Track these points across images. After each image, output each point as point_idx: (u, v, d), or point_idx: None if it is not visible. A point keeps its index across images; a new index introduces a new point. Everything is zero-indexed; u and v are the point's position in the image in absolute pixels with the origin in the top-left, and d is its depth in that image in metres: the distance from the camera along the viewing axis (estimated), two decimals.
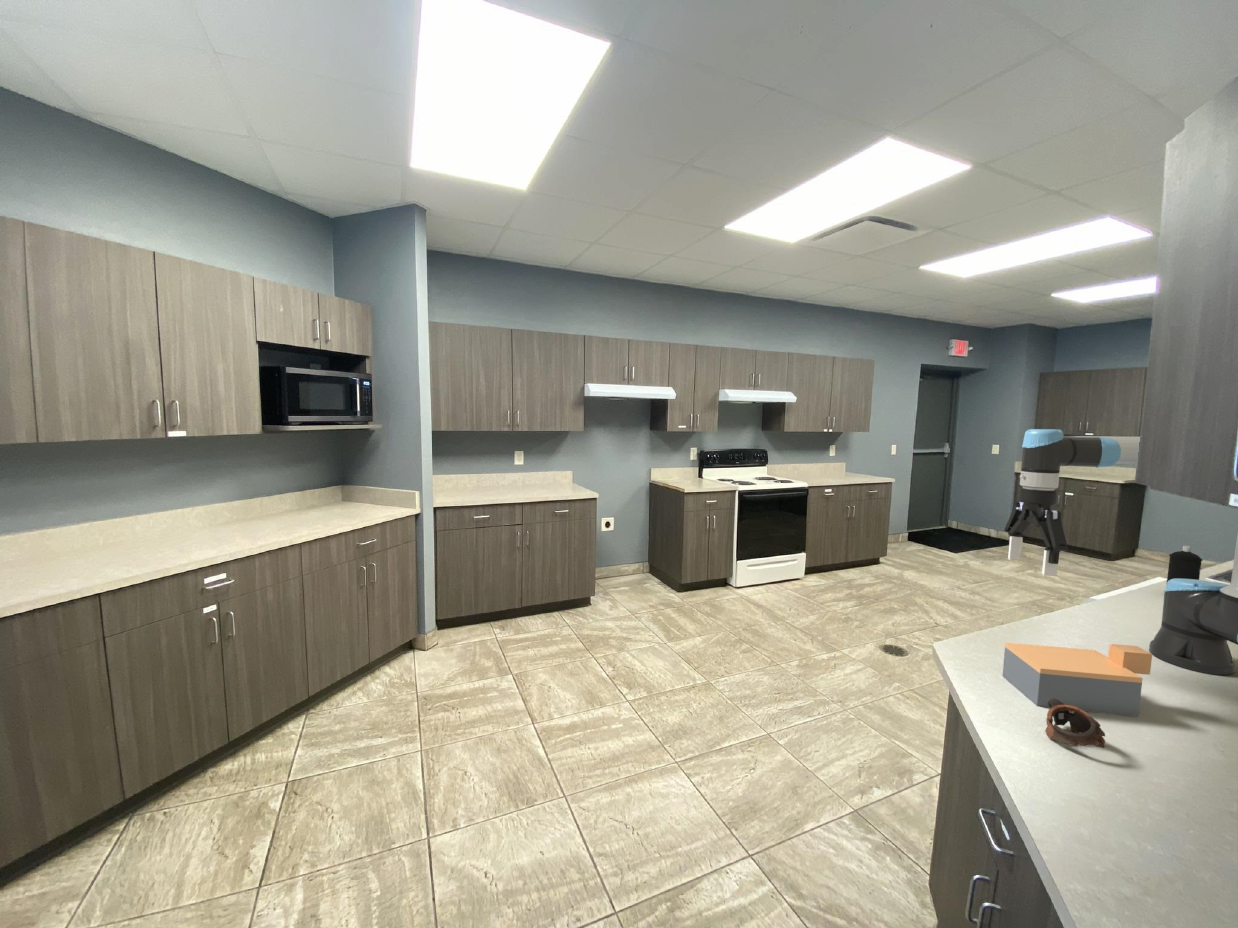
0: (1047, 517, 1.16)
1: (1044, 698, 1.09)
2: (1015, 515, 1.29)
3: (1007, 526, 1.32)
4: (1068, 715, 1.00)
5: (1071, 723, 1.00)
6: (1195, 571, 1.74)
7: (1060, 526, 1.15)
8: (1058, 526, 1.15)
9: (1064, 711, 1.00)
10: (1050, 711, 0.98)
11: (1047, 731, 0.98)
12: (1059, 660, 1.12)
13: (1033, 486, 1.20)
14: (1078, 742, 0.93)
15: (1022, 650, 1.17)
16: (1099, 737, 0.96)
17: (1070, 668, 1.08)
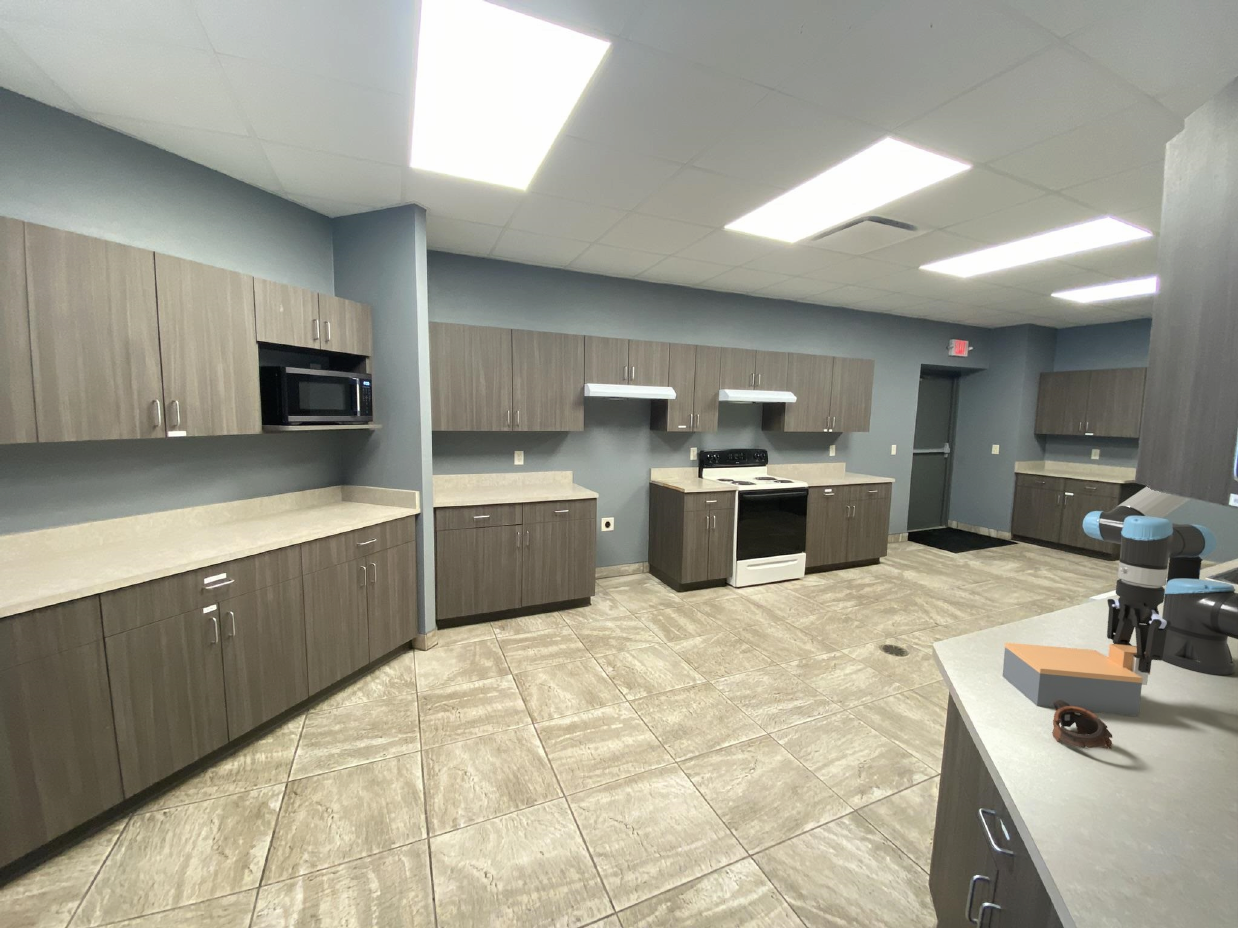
0: (1152, 625, 1.04)
1: (1044, 698, 1.09)
2: (1114, 615, 1.14)
3: (1109, 631, 1.15)
4: (1074, 716, 0.99)
5: (1077, 724, 1.00)
6: (1195, 571, 1.74)
7: (1163, 636, 1.04)
8: (1160, 636, 1.04)
9: (1070, 712, 0.99)
10: (1057, 713, 0.98)
11: (1054, 733, 0.97)
12: (1059, 660, 1.12)
13: (1137, 582, 1.07)
14: (1086, 744, 0.92)
15: (1022, 650, 1.17)
16: (1106, 738, 0.95)
17: (1070, 668, 1.08)
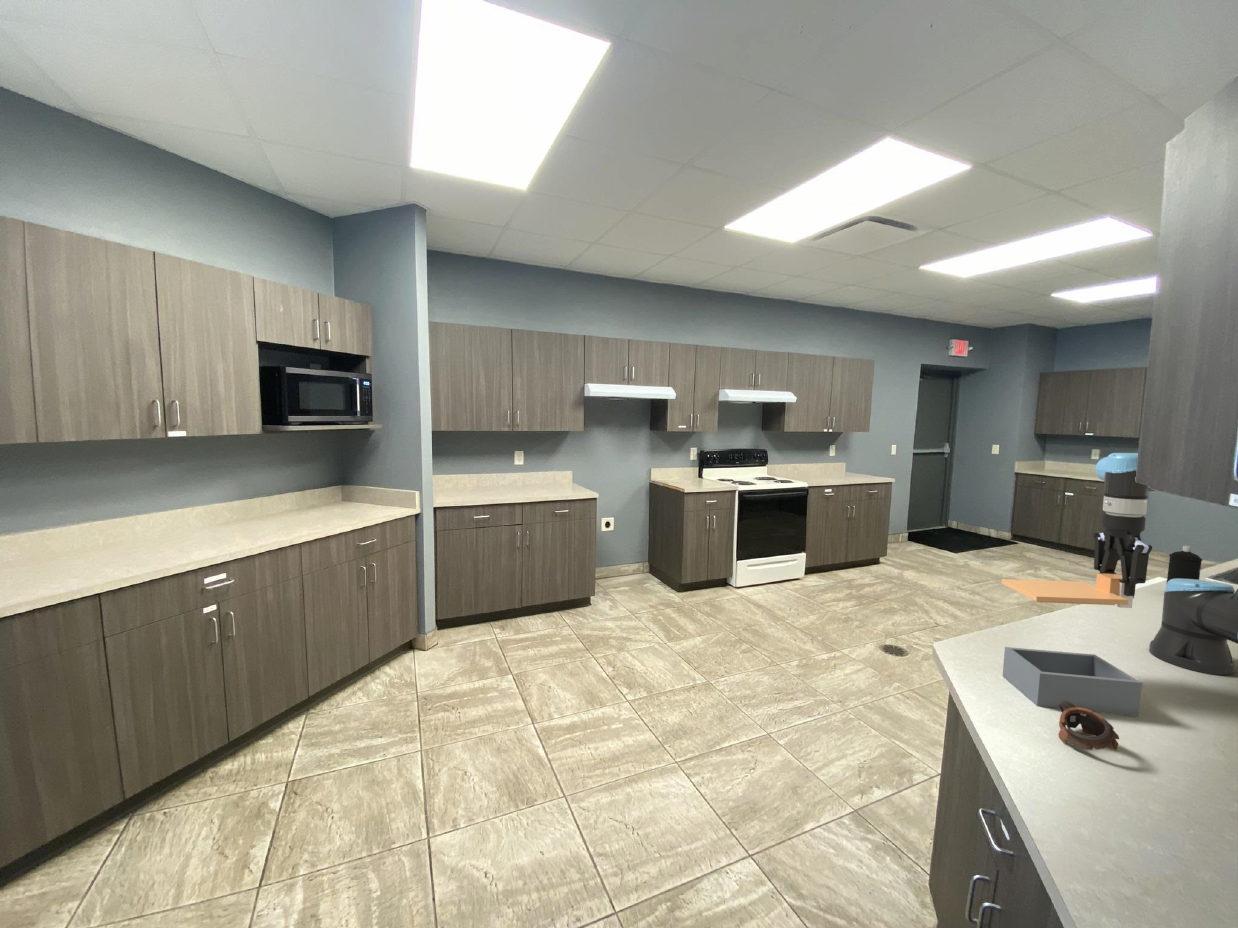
0: (1136, 551, 1.13)
1: (1044, 698, 1.09)
2: (1100, 547, 1.23)
3: (1095, 563, 1.24)
4: (1080, 717, 0.99)
5: (1083, 725, 0.99)
6: (1195, 571, 1.74)
7: (1146, 560, 1.13)
8: (1143, 560, 1.13)
9: (1076, 714, 0.99)
10: (1063, 714, 0.97)
11: (1060, 734, 0.97)
12: (1052, 590, 1.20)
13: (1121, 513, 1.15)
14: (1093, 745, 0.92)
15: (1018, 584, 1.25)
16: (1112, 740, 0.95)
17: (1063, 595, 1.17)
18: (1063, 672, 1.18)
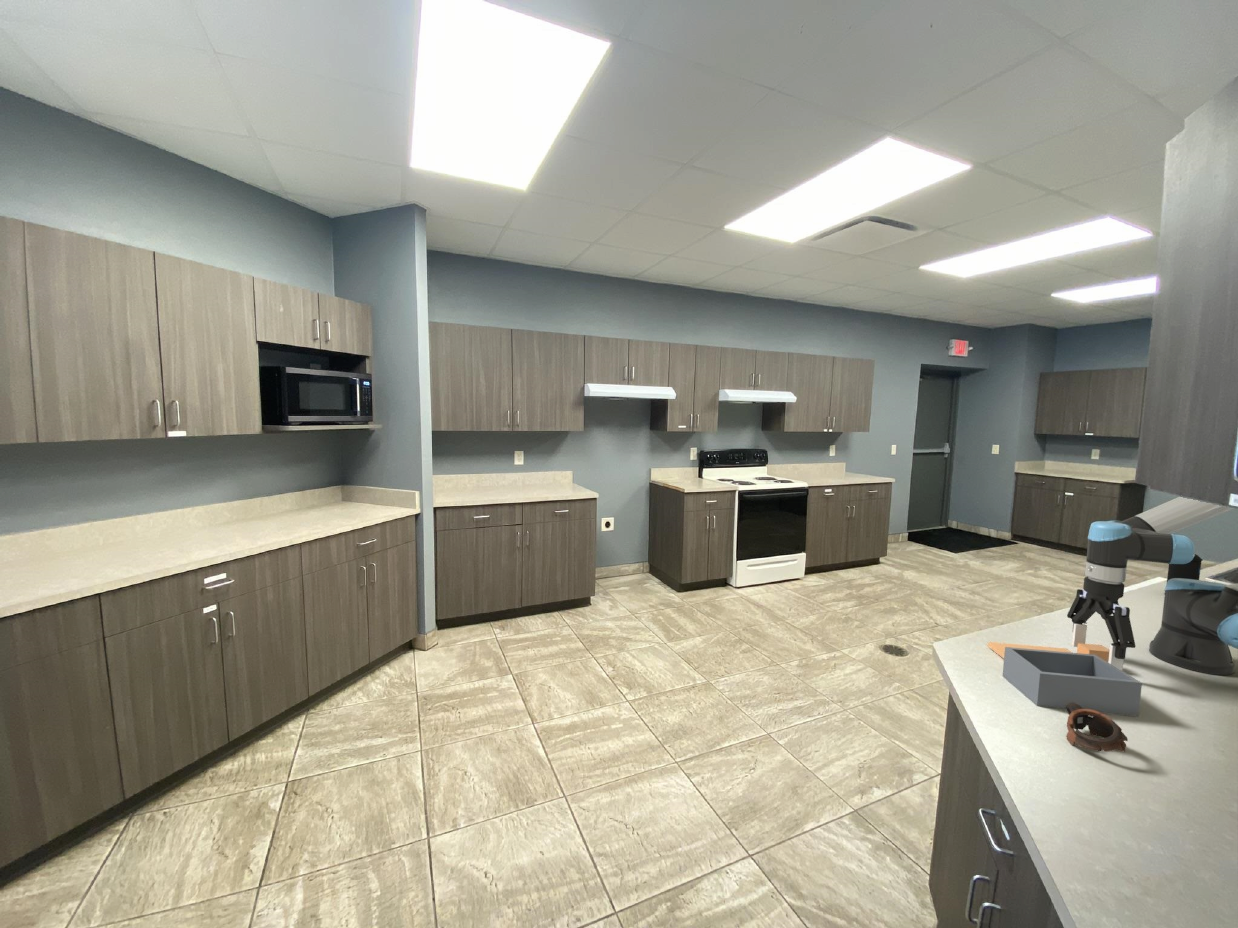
0: (1116, 613, 1.19)
1: (1044, 698, 1.09)
2: (1078, 602, 1.32)
3: (1070, 612, 1.34)
4: (1087, 719, 0.99)
5: (1090, 727, 0.99)
6: (1195, 571, 1.74)
7: (1128, 623, 1.18)
8: (1126, 623, 1.18)
9: (1083, 715, 0.98)
10: (1071, 716, 0.97)
11: (1068, 736, 0.96)
12: None
13: (1100, 579, 1.23)
14: (1102, 747, 0.91)
15: (1002, 648, 1.33)
16: (1120, 741, 0.95)
17: None
18: (1063, 672, 1.18)
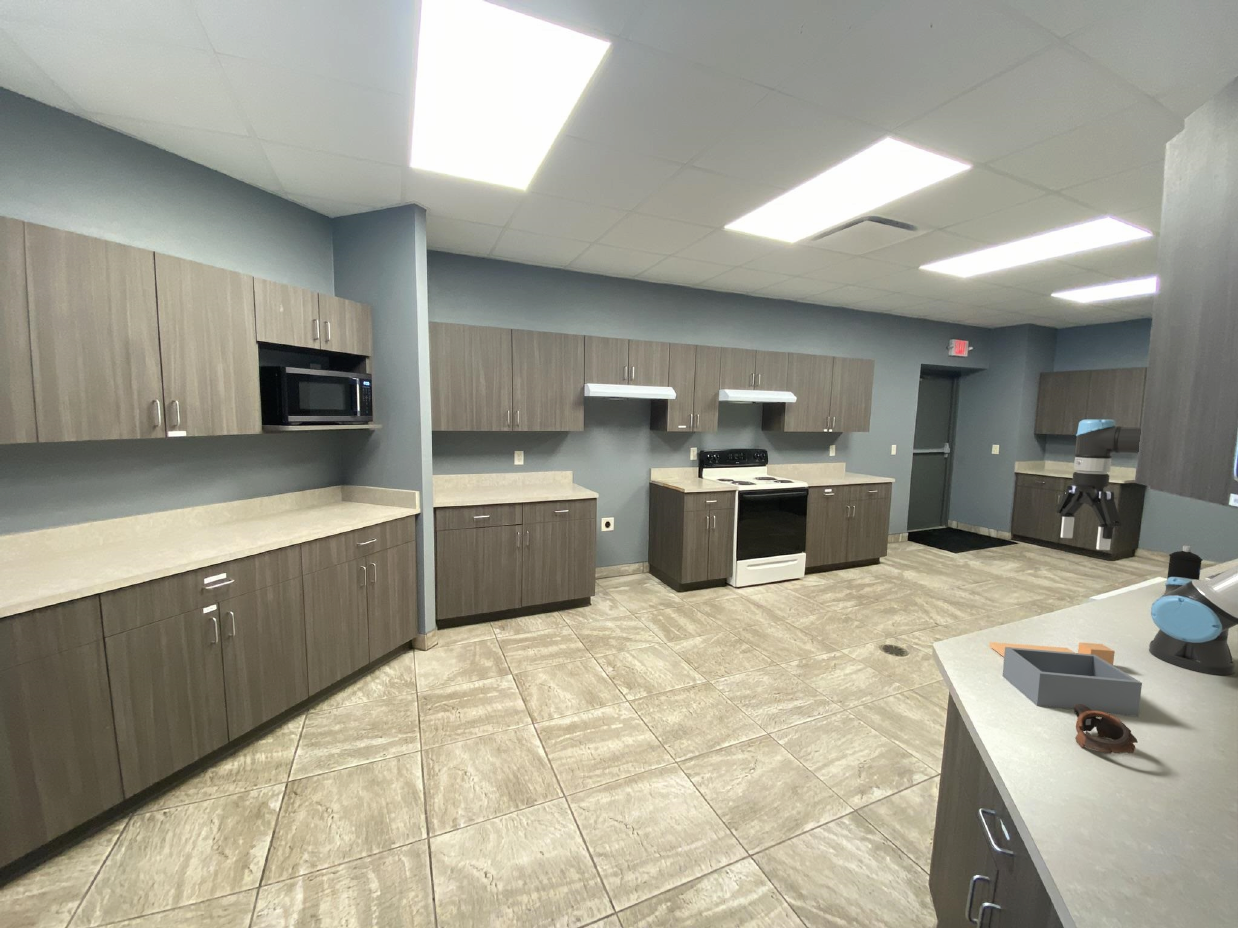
0: (1102, 498, 1.30)
1: (1044, 698, 1.09)
2: (1068, 497, 1.43)
3: (1059, 508, 1.46)
4: (1095, 721, 0.98)
5: (1098, 729, 0.98)
6: (1195, 571, 1.74)
7: (1113, 505, 1.29)
8: (1111, 505, 1.29)
9: (1092, 717, 0.98)
10: (1080, 718, 0.96)
11: (1078, 738, 0.95)
12: None
13: (1087, 470, 1.34)
14: (1112, 750, 0.91)
15: (1004, 649, 1.33)
16: (1128, 743, 0.94)
17: None
18: (1063, 672, 1.18)
